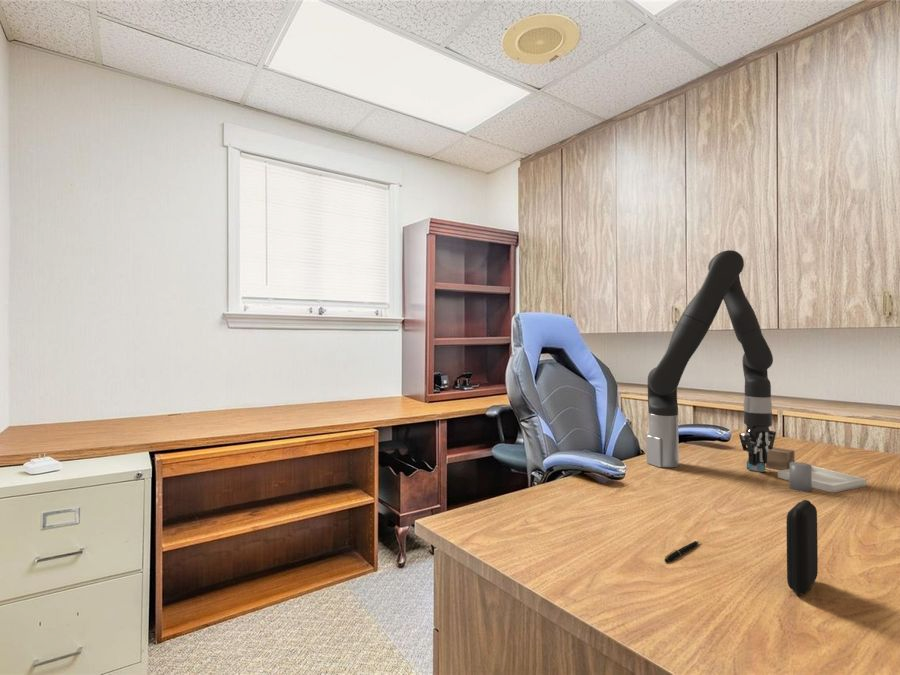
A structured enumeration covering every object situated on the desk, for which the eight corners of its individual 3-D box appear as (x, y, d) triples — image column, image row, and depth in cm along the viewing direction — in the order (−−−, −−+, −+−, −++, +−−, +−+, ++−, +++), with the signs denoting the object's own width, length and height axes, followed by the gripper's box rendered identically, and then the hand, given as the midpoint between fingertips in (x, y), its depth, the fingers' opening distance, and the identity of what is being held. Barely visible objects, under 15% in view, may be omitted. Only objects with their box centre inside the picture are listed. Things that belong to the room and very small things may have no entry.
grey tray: (832, 492, 128) (832, 485, 128) (777, 477, 142) (777, 470, 142) (866, 486, 133) (866, 479, 133) (810, 471, 147) (810, 465, 147)
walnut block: (787, 472, 147) (787, 453, 147) (765, 467, 152) (765, 449, 152) (794, 468, 151) (794, 450, 151) (773, 464, 156) (773, 446, 156)
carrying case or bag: (800, 572, 86) (800, 494, 86) (821, 579, 84) (820, 498, 84) (784, 594, 79) (783, 508, 79) (806, 601, 77) (805, 513, 77)
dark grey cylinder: (803, 492, 128) (803, 467, 128) (785, 487, 133) (785, 463, 133) (815, 490, 130) (815, 465, 130) (797, 485, 135) (797, 461, 135)
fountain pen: (697, 542, 100) (697, 535, 100) (702, 544, 99) (702, 537, 99) (661, 563, 91) (661, 555, 91) (667, 565, 90) (667, 558, 90)
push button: (772, 470, 148) (771, 439, 148) (769, 474, 144) (769, 442, 144) (747, 466, 152) (747, 436, 152) (744, 470, 148) (744, 439, 148)
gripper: (761, 407, 154) (762, 458, 154) (730, 410, 149) (730, 463, 149) (784, 410, 147) (785, 464, 147) (753, 413, 142) (753, 469, 142)
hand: (757, 463), depth 148 cm, fingers closed on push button, 4 cm apart
